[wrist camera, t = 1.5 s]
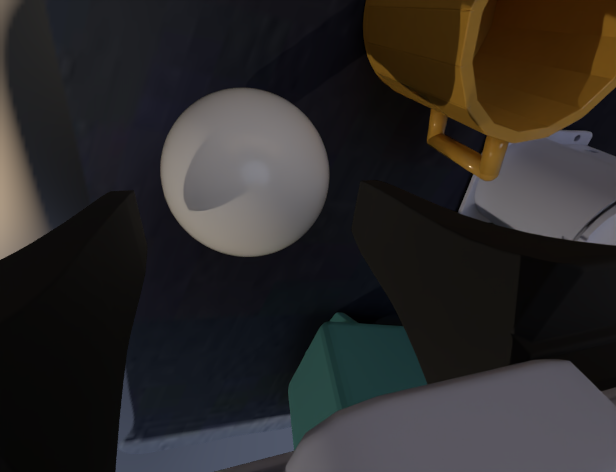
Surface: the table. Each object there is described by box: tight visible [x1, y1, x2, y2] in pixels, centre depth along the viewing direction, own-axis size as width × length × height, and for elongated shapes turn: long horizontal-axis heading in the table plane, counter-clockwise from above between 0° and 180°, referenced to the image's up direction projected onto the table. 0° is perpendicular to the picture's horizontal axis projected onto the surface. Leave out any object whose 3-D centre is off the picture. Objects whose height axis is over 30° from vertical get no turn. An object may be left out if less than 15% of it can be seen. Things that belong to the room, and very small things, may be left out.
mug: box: [363, 0, 616, 181], centre depth 16 cm, size 11×8×9 cm
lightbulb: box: [160, 88, 329, 257], centre depth 15 cm, size 6×6×11 cm
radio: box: [288, 312, 427, 451], centre depth 32 cm, size 34×10×15 cm, turn 69°
